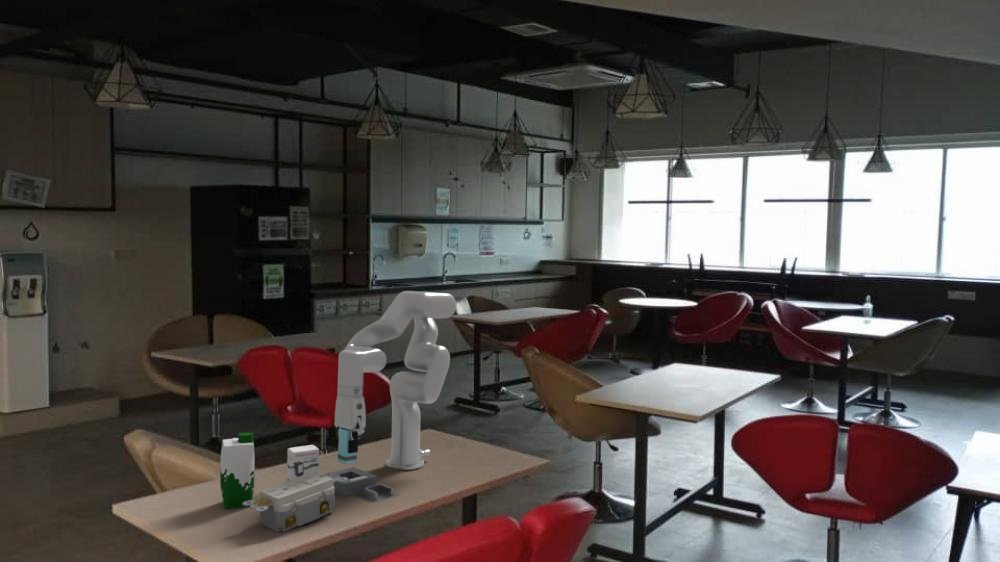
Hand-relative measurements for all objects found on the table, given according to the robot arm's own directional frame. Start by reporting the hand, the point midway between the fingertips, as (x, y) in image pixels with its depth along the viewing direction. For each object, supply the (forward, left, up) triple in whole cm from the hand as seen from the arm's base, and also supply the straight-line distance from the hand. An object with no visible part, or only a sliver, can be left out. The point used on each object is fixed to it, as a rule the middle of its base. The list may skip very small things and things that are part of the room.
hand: (348, 450), depth 230 cm
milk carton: (+31, -10, -12) cm, 34 cm away
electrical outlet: (+24, +11, -12) cm, 30 cm away
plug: (0, 0, -3) cm, 3 cm away
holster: (-2, +12, -12) cm, 17 cm away
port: (0, 0, -12) cm, 12 cm away
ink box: (+9, -11, -12) cm, 19 cm away
